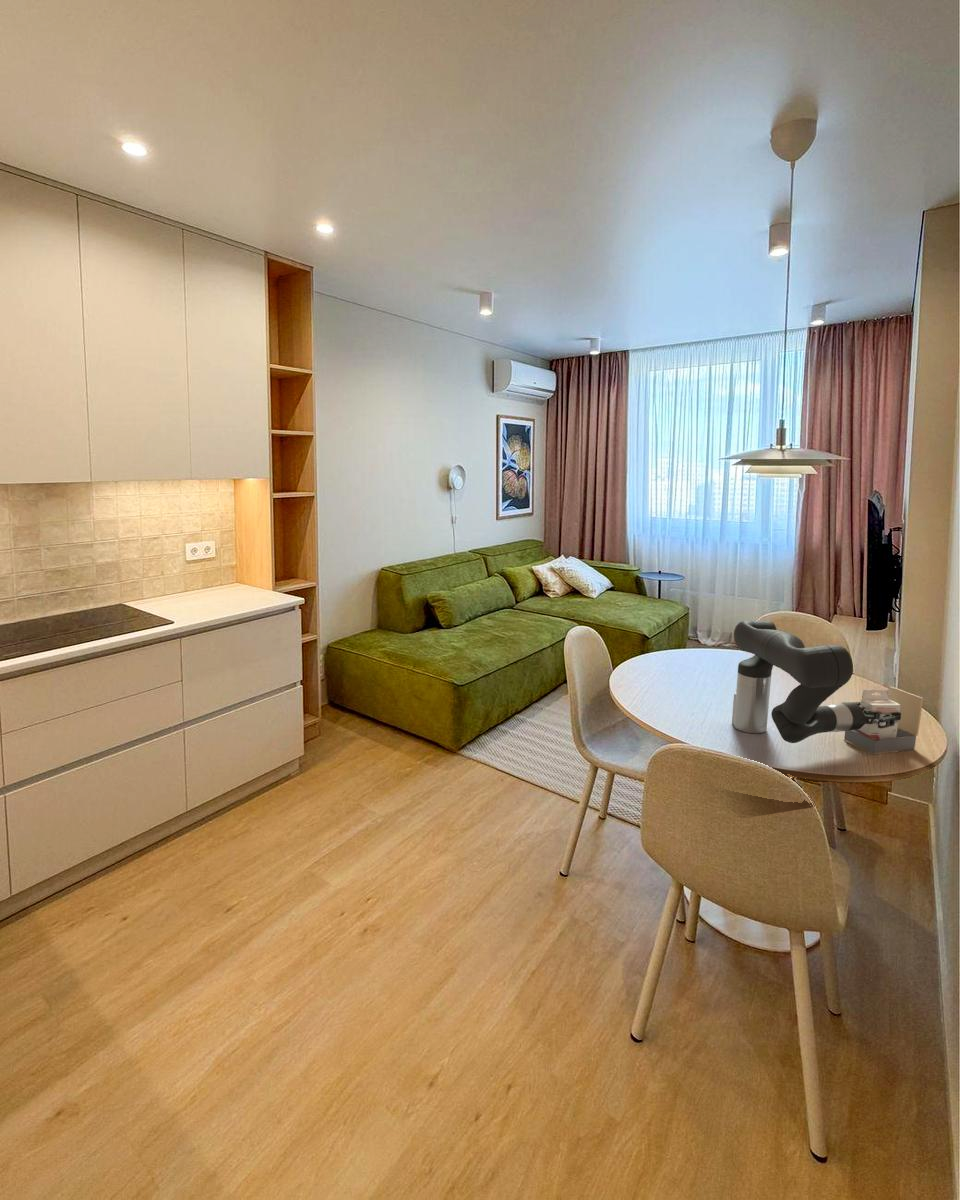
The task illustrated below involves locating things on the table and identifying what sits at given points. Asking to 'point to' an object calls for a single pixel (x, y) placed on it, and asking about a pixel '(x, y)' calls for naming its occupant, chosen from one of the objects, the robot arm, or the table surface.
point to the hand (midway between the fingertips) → (889, 711)
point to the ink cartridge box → (881, 705)
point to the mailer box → (905, 730)
